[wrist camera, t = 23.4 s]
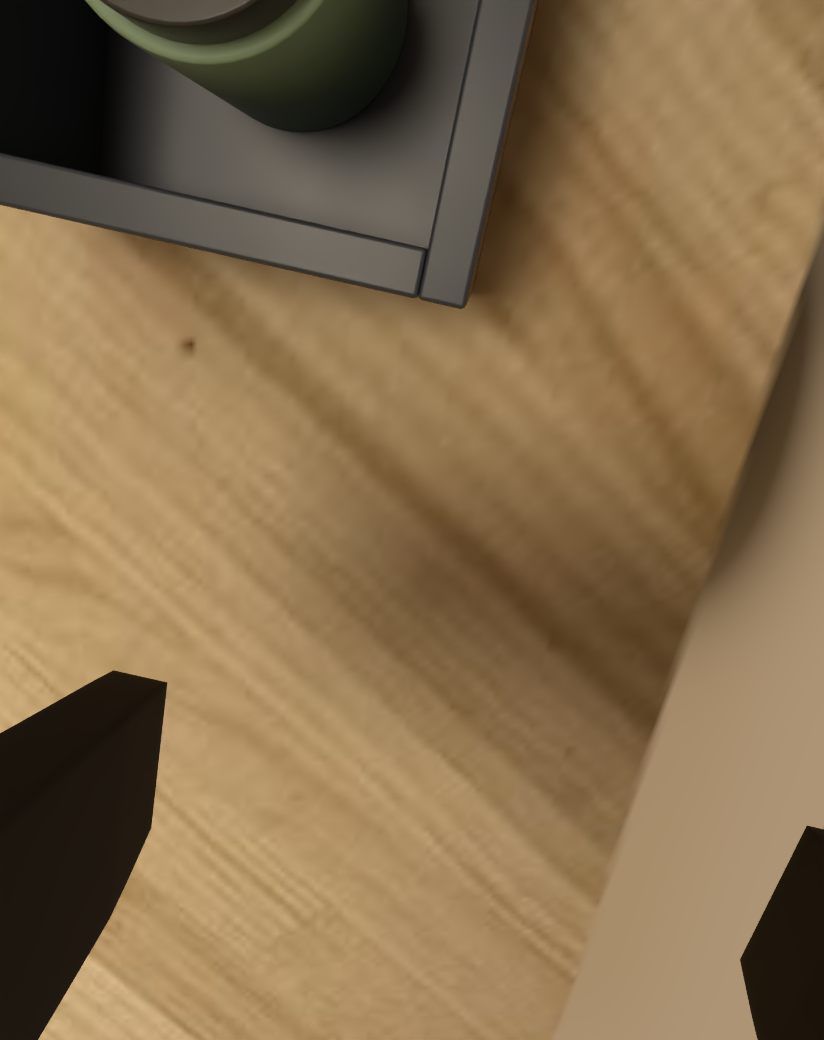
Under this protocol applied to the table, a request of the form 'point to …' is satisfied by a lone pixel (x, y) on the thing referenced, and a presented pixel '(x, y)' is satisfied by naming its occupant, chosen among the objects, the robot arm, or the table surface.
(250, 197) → the bin
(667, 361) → the table surface
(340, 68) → the green lidded canister
